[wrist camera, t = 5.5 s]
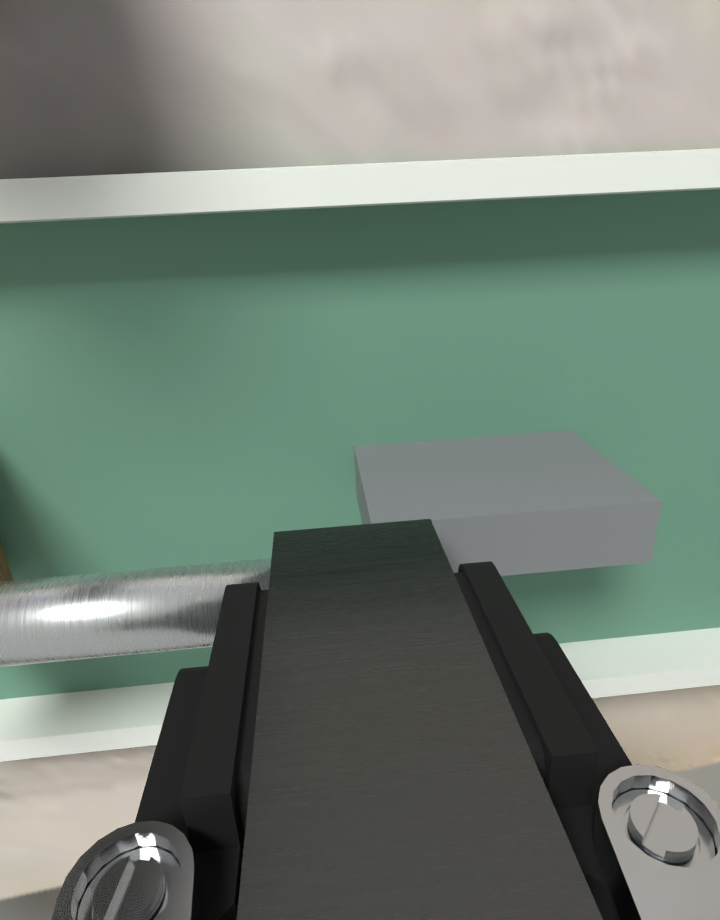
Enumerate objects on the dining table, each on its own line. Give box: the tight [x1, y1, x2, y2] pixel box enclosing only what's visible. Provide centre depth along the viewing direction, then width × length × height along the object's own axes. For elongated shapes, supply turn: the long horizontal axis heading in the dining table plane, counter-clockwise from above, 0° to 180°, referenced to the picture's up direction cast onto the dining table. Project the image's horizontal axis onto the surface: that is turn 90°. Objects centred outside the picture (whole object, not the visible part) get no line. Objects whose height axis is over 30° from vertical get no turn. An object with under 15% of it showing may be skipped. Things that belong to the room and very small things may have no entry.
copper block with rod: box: [0, 519, 603, 920], centre depth 11 cm, size 13×5×12 cm, turn 93°
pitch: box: [0, 148, 720, 762], centre depth 15 cm, size 34×16×6 cm, turn 93°
